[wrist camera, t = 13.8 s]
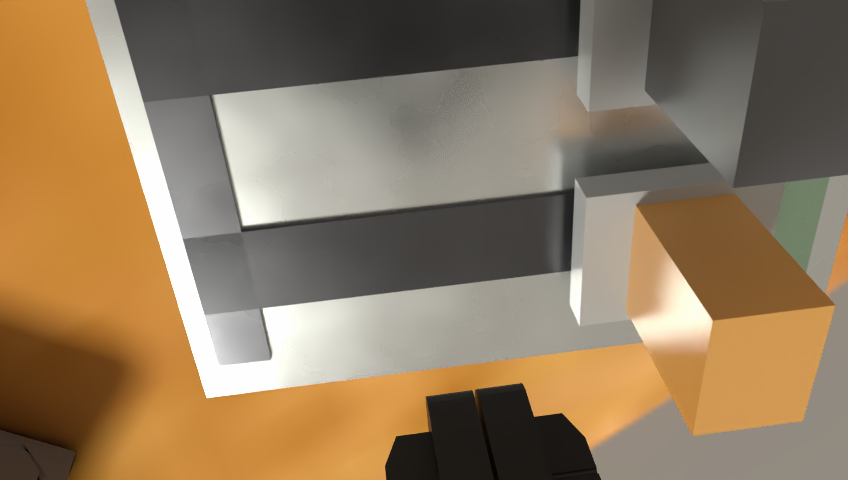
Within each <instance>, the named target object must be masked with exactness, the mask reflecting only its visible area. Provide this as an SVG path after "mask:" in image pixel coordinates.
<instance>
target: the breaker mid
mask: <svg viewBox="0 0 848 480" xmlns="http://www.w3.org/2000/svg"><path fill="white" fill-rule="evenodd" d="M577 96H578V97H579V99H580V100H581V102H582V103H583V104H584V106H585V107H586V109H587V110H588V112H593V111H602V110H611V109H620V108H629V107H638V106H647V105H656V104H657V105H658V106H659V107H660V108H661V109H662V110H663V111H664V112H665V114H666V115H667V116H668V117H669V118H670V119H671V120H672V121H673V122H674V123H675V125H676V126H677V127H678V128H679V129H680V130H681V131H682V132H683V133H684V134H685V136H686V137H687V138H688V139H689V140H690V141H691V142H692V143H693V144H694V145H695V147H696V148H697V149H698V150H699V151H700V152H701V153H702V154H703V155H704V156H705V158H706V159H707V160H708V161H709V162H710V163H711V164H712V165H713V166H714V168H715V169H716V170H717V171H718V172H719V173H720V174H721V175H722V176H723V177H724V179H725V180H726V181H727V182H728V183H729V184H730V185H731V186H732V187H733V188H739V187H748V186H756V185H765V184H774V183H782V182H791V181H799V180H808V179H816V178H825V177H833V176H842V175H848V0H581V4H580V28H579V51H578V75H577Z"/></svg>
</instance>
